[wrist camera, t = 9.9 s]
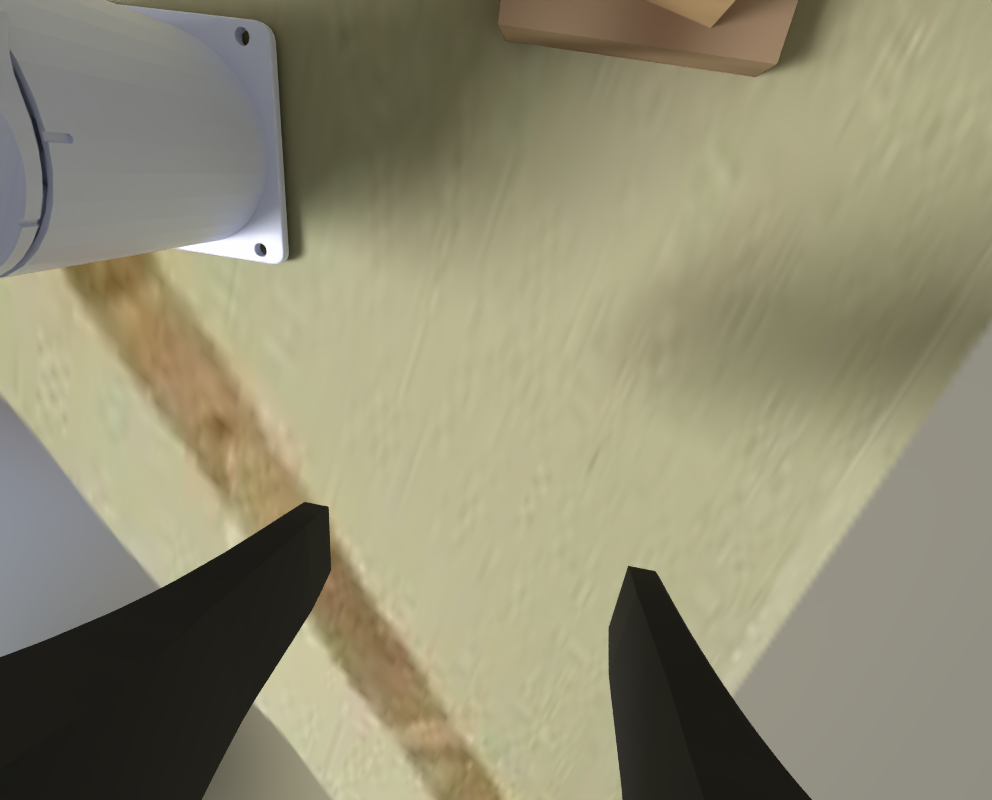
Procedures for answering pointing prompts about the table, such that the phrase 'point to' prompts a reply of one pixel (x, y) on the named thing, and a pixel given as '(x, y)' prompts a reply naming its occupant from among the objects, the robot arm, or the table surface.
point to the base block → (654, 31)
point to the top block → (697, 9)
